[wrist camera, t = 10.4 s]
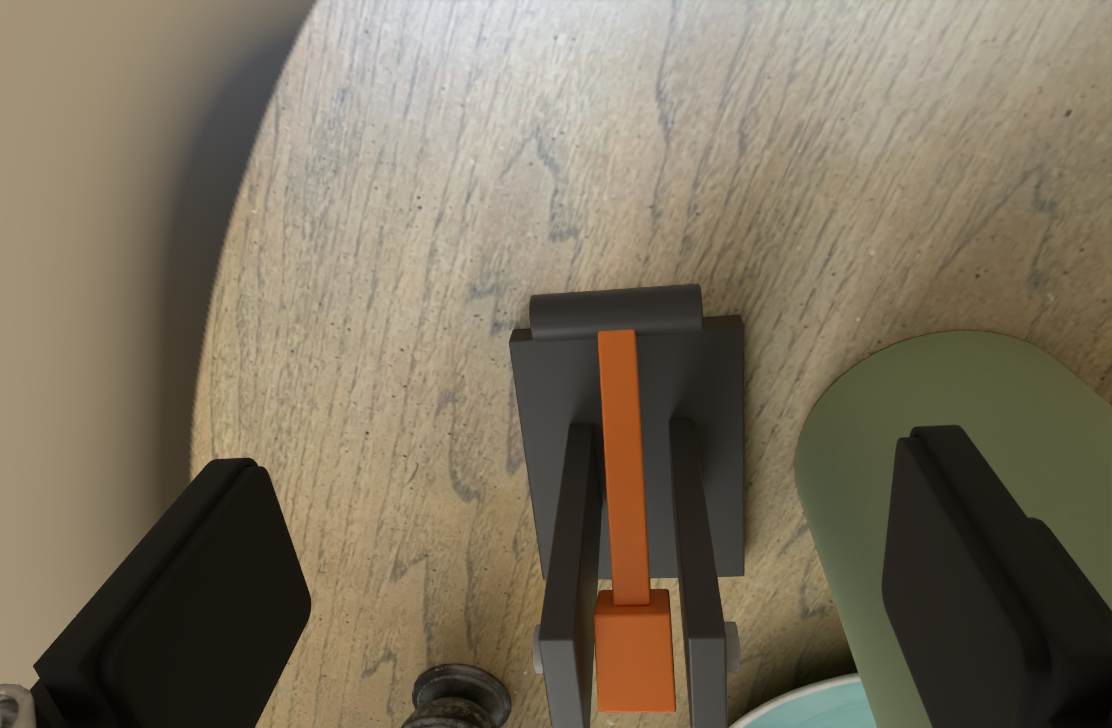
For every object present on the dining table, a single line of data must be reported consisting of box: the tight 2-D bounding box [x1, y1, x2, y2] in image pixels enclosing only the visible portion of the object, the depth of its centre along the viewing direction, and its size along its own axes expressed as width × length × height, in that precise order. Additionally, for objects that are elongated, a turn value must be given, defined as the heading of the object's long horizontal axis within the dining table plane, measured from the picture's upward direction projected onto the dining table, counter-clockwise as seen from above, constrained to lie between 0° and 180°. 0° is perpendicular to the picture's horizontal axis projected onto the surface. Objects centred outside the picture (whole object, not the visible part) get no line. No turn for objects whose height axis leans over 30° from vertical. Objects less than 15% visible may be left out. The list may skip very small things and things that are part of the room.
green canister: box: [794, 331, 1112, 728], centre depth 23 cm, size 12×13×18 cm
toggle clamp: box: [509, 315, 744, 728], centre depth 27 cm, size 12×9×13 cm
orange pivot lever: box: [529, 284, 703, 712], centre depth 23 cm, size 12×5×2 cm, turn 6°
